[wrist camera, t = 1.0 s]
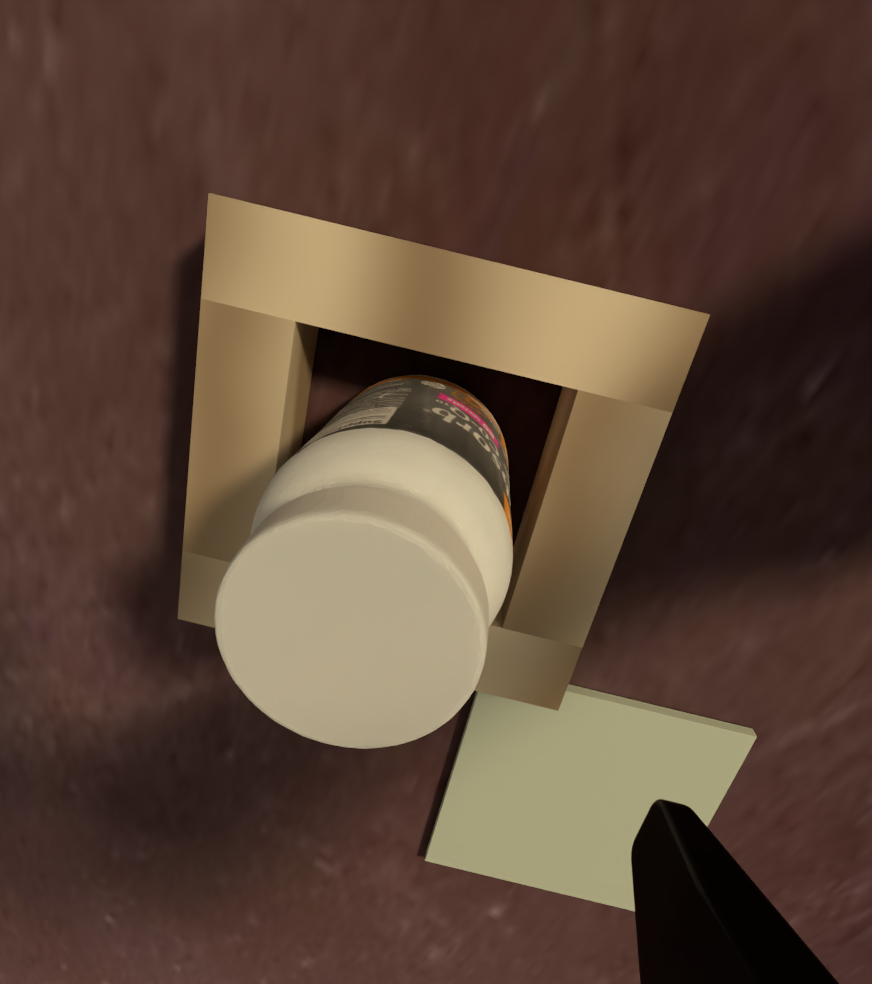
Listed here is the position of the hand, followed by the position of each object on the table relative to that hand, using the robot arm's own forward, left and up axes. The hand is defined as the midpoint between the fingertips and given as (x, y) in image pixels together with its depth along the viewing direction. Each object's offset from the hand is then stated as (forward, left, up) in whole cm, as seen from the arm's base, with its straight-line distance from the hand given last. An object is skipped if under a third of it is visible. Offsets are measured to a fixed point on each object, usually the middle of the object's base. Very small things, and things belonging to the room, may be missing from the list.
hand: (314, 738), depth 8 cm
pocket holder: (0, 0, -12) cm, 12 cm away
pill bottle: (0, 0, -12) cm, 12 cm away
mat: (-9, +12, -12) cm, 19 cm away
